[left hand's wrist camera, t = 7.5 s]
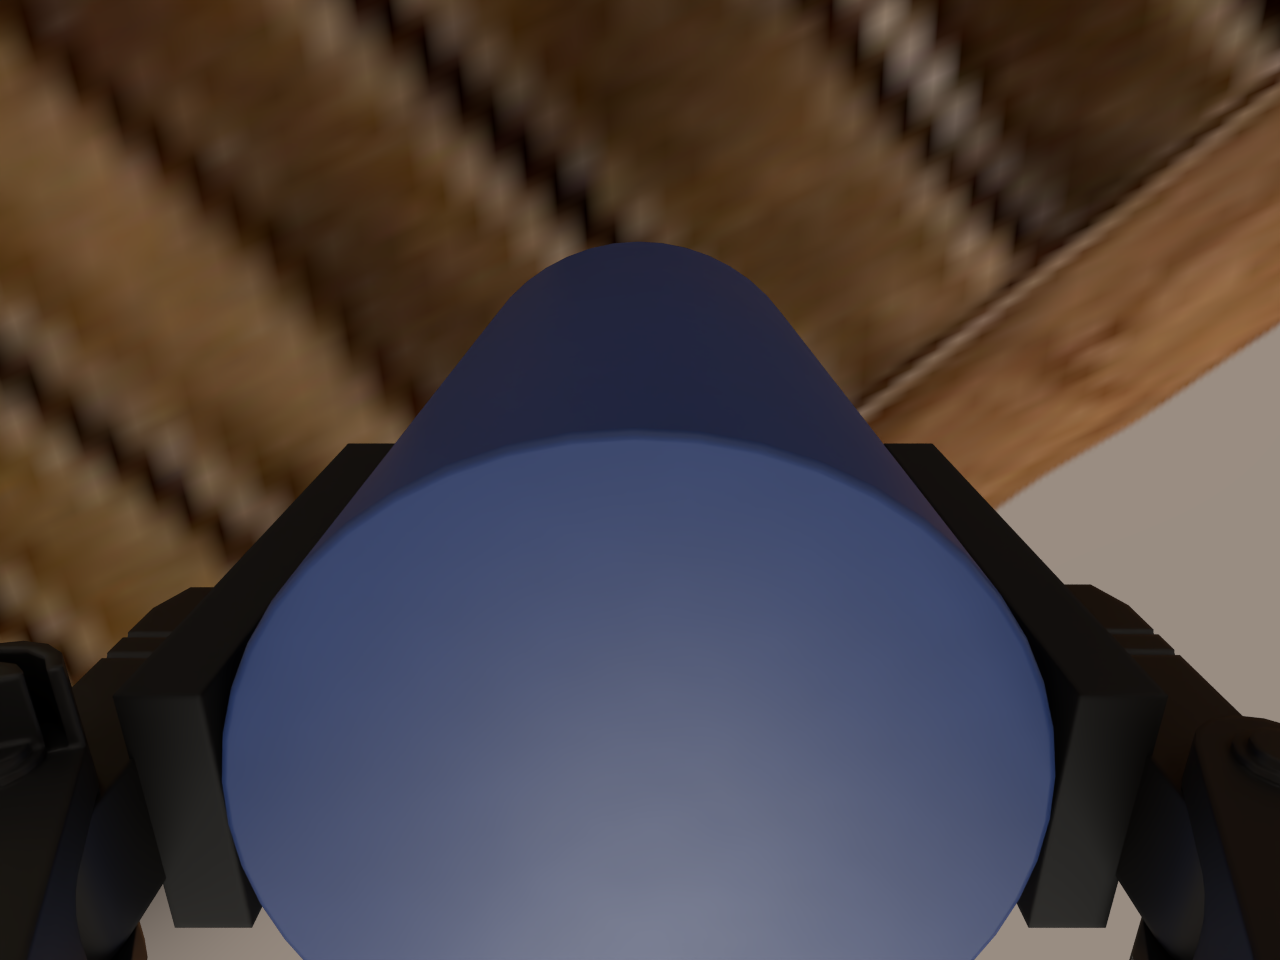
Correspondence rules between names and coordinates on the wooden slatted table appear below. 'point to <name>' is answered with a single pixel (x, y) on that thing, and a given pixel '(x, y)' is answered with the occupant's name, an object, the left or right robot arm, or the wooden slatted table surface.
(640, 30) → the wooden slatted table surface
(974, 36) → the wooden slatted table surface
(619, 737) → the canister
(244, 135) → the wooden slatted table surface
